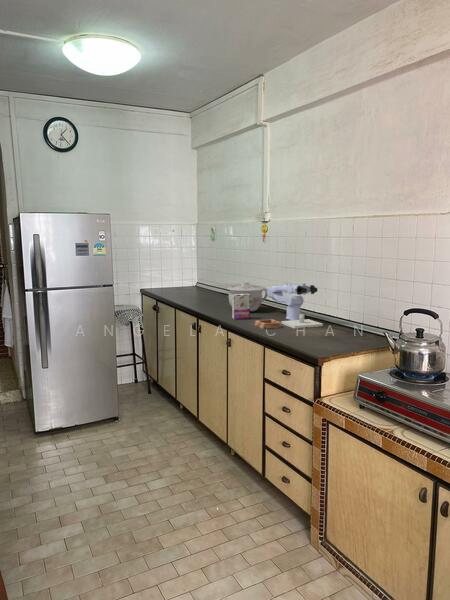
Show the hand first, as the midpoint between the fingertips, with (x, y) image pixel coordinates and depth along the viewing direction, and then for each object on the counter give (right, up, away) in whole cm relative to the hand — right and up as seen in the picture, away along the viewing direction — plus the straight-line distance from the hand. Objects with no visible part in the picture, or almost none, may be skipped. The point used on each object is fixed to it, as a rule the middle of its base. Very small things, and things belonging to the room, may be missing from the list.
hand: (311, 290), depth 280 cm
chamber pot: (-38, -14, +53) cm, 67 cm away
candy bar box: (-43, -19, +22) cm, 52 cm away
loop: (-27, -22, -2) cm, 35 cm away
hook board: (-6, -21, +3) cm, 22 cm away
